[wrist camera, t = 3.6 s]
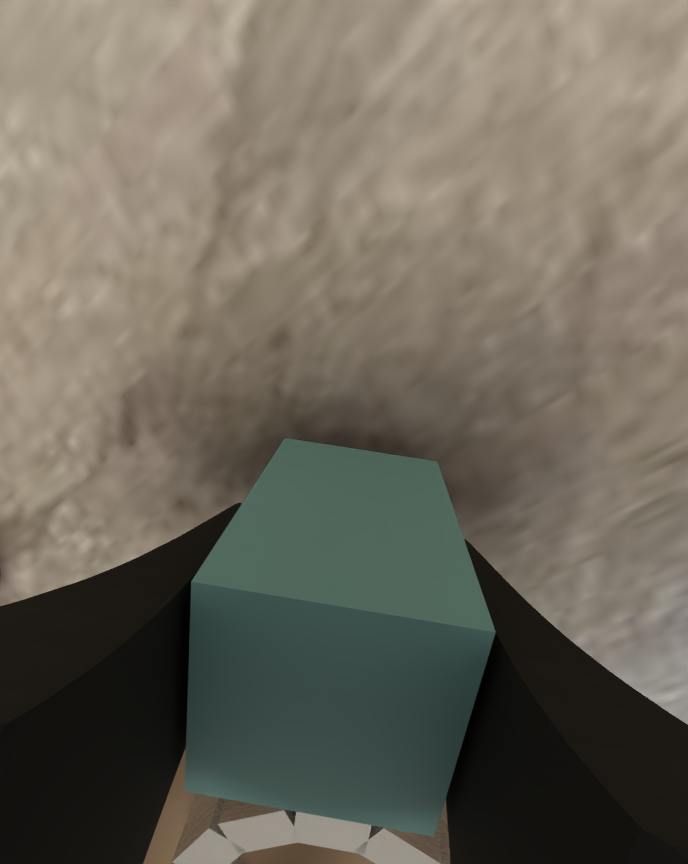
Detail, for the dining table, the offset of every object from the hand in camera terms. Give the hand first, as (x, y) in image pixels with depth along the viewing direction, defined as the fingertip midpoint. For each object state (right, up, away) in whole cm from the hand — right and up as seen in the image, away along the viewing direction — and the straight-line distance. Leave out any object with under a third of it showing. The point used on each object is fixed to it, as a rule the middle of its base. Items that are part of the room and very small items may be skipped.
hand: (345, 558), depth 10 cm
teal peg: (0, +1, +2) cm, 2 cm away
